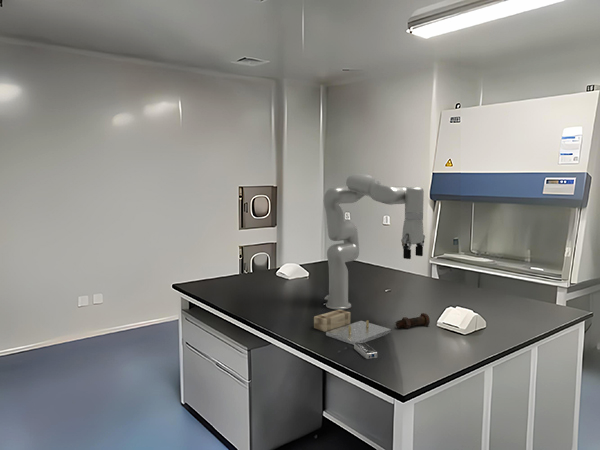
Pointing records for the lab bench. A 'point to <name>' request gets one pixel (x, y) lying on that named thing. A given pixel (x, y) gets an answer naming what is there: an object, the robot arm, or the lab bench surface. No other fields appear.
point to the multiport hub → (365, 350)
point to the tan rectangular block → (331, 320)
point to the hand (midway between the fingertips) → (413, 257)
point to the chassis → (358, 332)
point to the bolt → (413, 321)
